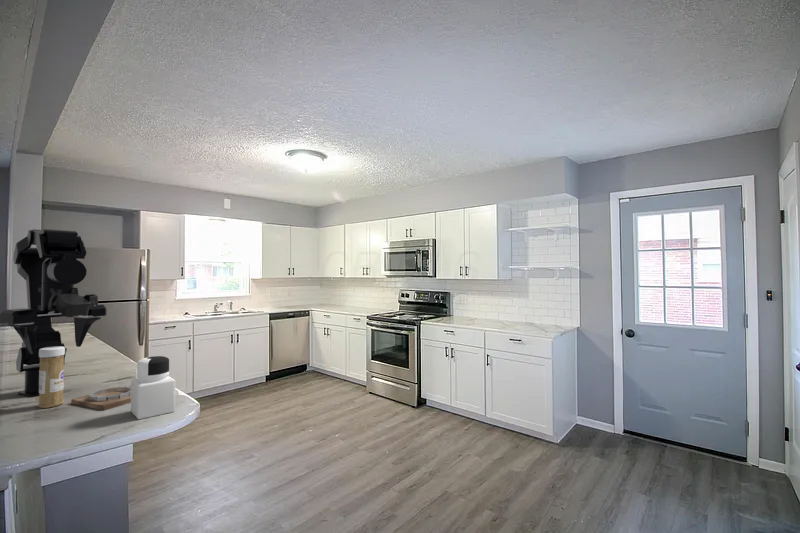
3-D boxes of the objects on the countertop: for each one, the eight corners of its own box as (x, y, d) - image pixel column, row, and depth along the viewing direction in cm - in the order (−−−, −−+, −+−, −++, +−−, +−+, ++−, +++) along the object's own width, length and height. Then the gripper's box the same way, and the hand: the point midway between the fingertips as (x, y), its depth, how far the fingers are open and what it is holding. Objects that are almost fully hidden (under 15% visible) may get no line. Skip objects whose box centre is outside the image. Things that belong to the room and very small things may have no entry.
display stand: (71, 403, 93) (71, 395, 93) (119, 391, 103) (119, 383, 104) (104, 410, 89) (104, 401, 89) (151, 396, 99) (151, 388, 99)
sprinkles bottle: (62, 406, 91) (63, 347, 92) (35, 410, 89) (37, 349, 89) (65, 401, 95) (66, 345, 96) (40, 404, 93) (41, 346, 93)
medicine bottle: (166, 404, 93) (167, 353, 93) (175, 411, 88) (176, 357, 88) (130, 411, 88) (131, 357, 88) (137, 420, 83) (138, 362, 83)
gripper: (29, 285, 81) (28, 361, 81) (122, 283, 99) (120, 346, 98) (-2, 284, 85) (-4, 356, 85) (92, 282, 102) (91, 342, 102)
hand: (56, 350), depth 93 cm, fingers open, 9 cm apart
